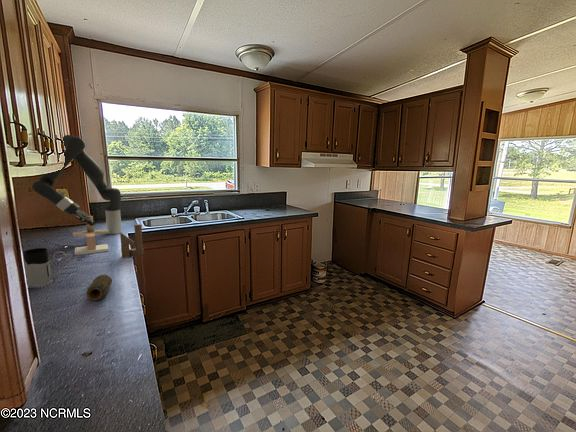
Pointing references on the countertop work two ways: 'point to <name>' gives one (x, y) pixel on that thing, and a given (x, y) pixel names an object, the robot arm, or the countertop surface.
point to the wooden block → (127, 241)
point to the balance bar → (90, 229)
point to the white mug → (38, 266)
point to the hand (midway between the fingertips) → (93, 224)
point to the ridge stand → (91, 246)
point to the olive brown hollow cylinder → (99, 287)
